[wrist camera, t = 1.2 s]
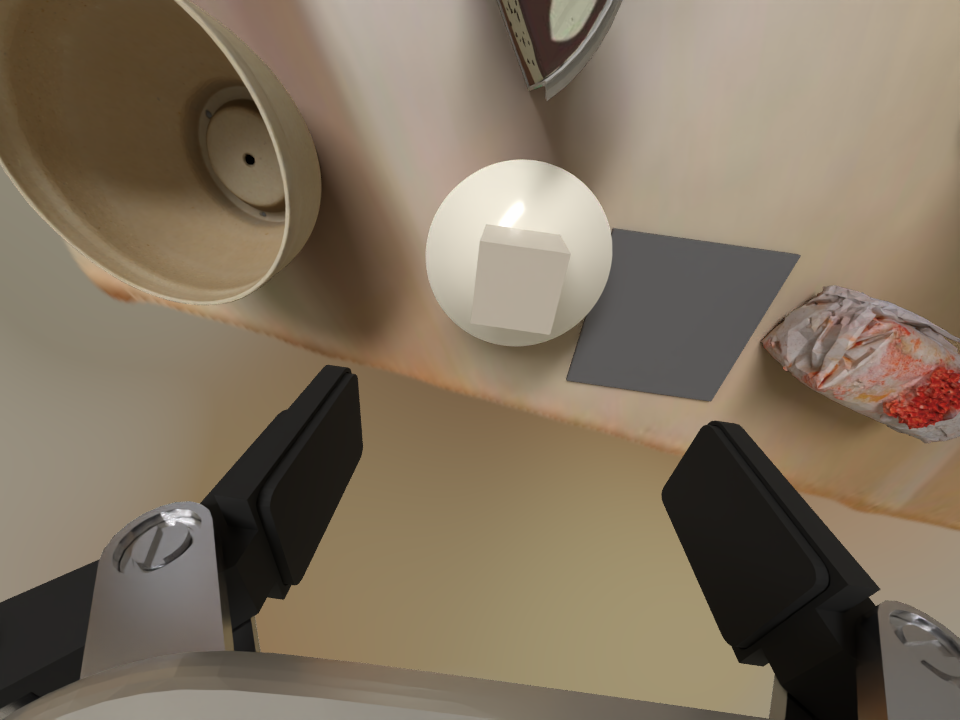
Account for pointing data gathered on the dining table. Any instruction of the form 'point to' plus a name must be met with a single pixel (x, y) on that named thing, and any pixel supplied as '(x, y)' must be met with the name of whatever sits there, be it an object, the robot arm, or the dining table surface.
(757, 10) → the dining table surface
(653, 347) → the mat
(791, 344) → the food item
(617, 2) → the food container
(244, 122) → the planter bowl
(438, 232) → the lid
